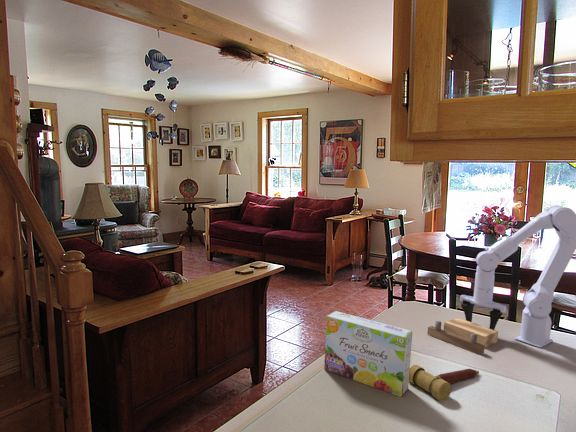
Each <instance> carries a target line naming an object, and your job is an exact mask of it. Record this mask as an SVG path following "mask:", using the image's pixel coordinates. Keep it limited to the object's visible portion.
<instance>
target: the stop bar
mask: <svg viewBox="0 0 576 432" xmlns="http://www.w3.org/2000/svg"><path fill="white" fill-rule="evenodd" d="M427 335H428V336H431V337H433V338H436V339H438V340H440V341H444V342H446V343H449V344H452V345H454V346H457V347H459V348H462V349H464V350H467V351H469V352H473V353H475V354H478V355H480V356H481V355H484V354H485V348H486V347H485V345H483V344H480V343H477V334H475V333H471V338H470V340H469V339H466V338H464V337H461V336H458V335H455V334H453V333H450V332H447V331H445V330H444V329H442V321H440V320H435V324H434V326H433V325H430V326H427Z"/></svg>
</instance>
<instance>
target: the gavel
mask: <svg viewBox="0 0 576 432" xmlns="http://www.w3.org/2000/svg"><path fill="white" fill-rule="evenodd" d="M479 374H480V371H479V370H478V369H472V368H464V369H460V370H455V371H450V372H445V373H440V374H438V375H433V374H431V373H430V372H428V371H426V370H425V369H424V368H423V367H422V366H420V365H418V364H413V365H412V366H410V372H409V383H411V384H413V385H414V386H415V385H416V386H419V387H420V388H421V389H423V390H424V391H426V392H428V394H431V395H432V397H433V398H434V399H436V400H437V401H440V402H441V401H444V400H447V399H448V398H449V397H450V395H451V392H452V386H451V385H452V384H454V383H459V382H465V381H468V379H469V380H471V379H472V378H473V379H474V378H476V376H478V375H479Z"/></svg>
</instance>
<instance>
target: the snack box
mask: <svg viewBox="0 0 576 432" xmlns="http://www.w3.org/2000/svg"><path fill="white" fill-rule="evenodd" d="M325 323H326V324H325V325H326V326H325V344H324V345H325V348H324V371H325V370H326V371H327V372H331V373H334V374H336V375H339V376H342V377H345V378H347V379H351V380H353V381H355V382H358V383H361V384H364V385H367V386H370V387H372V388H374V389H375V388H376V389H378V390H381V391H383V392H386V393H389V394H392V395H394V396H397V397H399V398H401V397H403V395H404V394H405V393H406V392H407V390H408V389H409V383H410V382H409V372H410V368H411V358H412V357H411V355H412V341H413V331H412V330H409V329H406V328H402V327H398V326H394V325H391V324H388V323H384V322H379V321H376V320H372V319H368V318H365V317H360V316H357V315H354V314H349V313H345V312H342V311H336V310H335V311H333V312H331V313H330V314H327V315H326V322H325Z"/></svg>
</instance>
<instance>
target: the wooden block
mask: <svg viewBox="0 0 576 432" xmlns="http://www.w3.org/2000/svg"><path fill="white" fill-rule="evenodd" d="M443 330H445V331H447V332H450V333H453V334H455V335H458V336H461V337H464V338H466V339H469V340H470V338H471V333H475V334H477V343H480V344H483V345H485V348H487V347H490V346H492V345H494V344H497V343H498V338H499V330H496V329H494V330H493V329H490V328H489V327H487V326H483V325H480V324H478V323H475V322H473V321H472V322H469V321H466V319H463V318H459V317H456V318H453V319H449V320H447V321H444V322H443Z"/></svg>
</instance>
